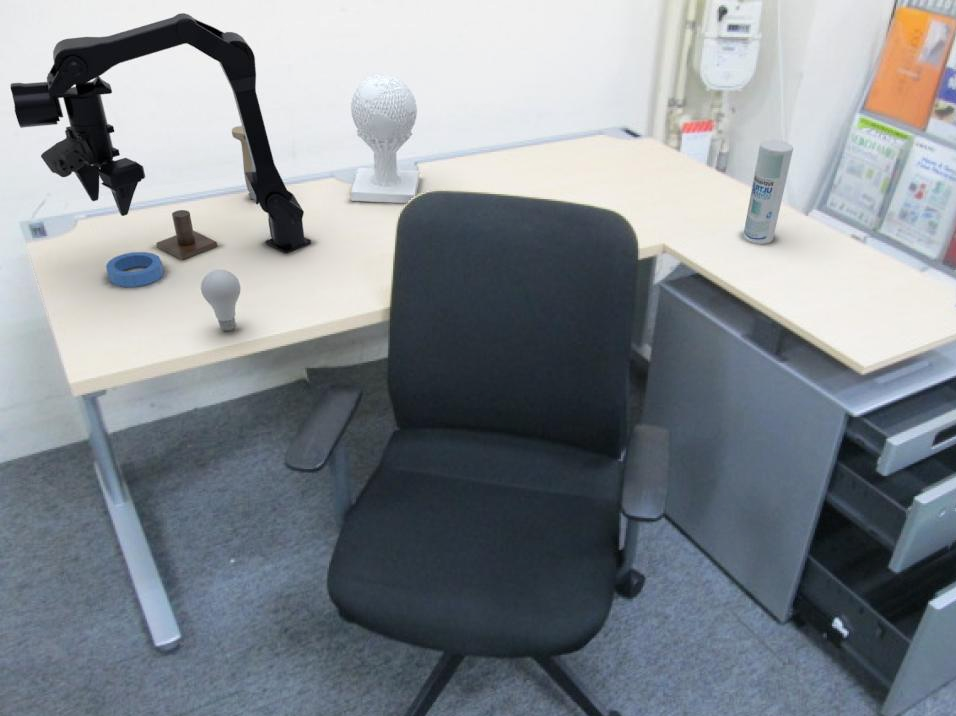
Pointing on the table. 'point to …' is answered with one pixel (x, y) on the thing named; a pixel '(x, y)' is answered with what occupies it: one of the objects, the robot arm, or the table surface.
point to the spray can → (767, 190)
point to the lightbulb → (222, 296)
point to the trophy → (384, 139)
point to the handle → (244, 152)
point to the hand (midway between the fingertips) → (109, 207)
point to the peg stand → (185, 238)
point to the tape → (137, 277)
